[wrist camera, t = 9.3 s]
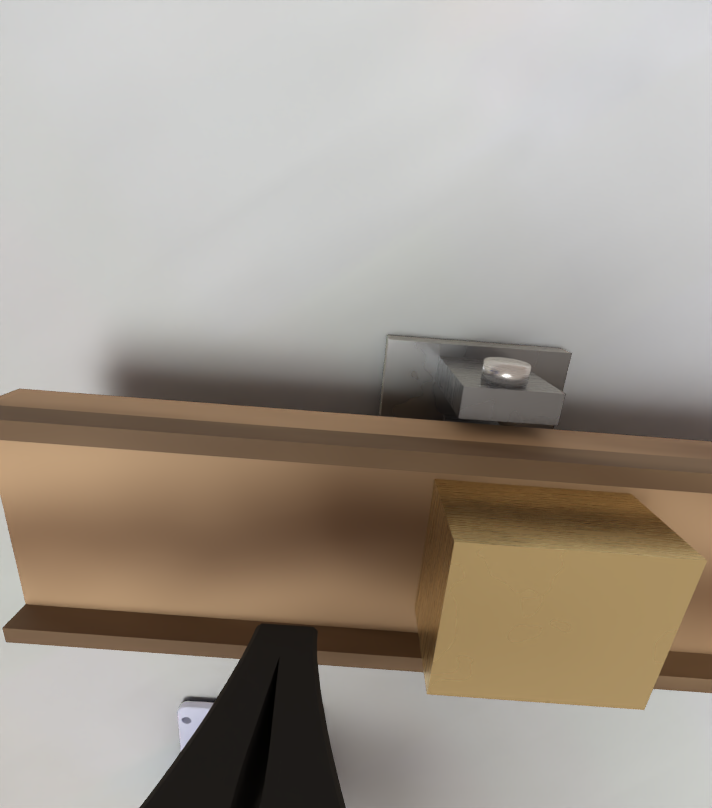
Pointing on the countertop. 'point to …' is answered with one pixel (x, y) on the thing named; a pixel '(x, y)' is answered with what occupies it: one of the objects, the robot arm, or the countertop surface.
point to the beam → (286, 521)
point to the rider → (549, 594)
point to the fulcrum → (473, 382)
